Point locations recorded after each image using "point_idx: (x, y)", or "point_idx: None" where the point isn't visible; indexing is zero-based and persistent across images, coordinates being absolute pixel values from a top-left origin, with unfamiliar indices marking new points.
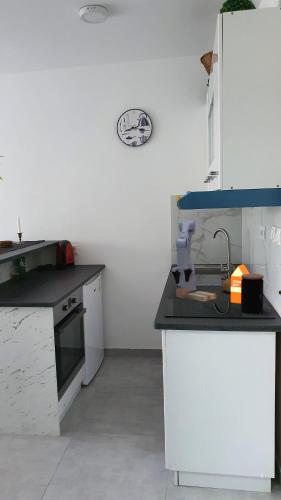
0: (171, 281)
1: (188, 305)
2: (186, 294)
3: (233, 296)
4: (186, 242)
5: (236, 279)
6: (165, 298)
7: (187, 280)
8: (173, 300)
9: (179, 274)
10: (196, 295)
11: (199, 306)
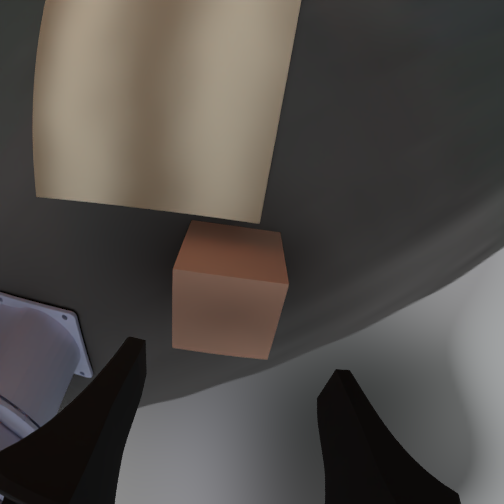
0: None
1: (485, 65)
2: (259, 220)
3: None
4: None
5: None
6: (352, 331)
7: (139, 365)
8: (392, 254)
9: (412, 488)
10: (257, 79)
11: None
